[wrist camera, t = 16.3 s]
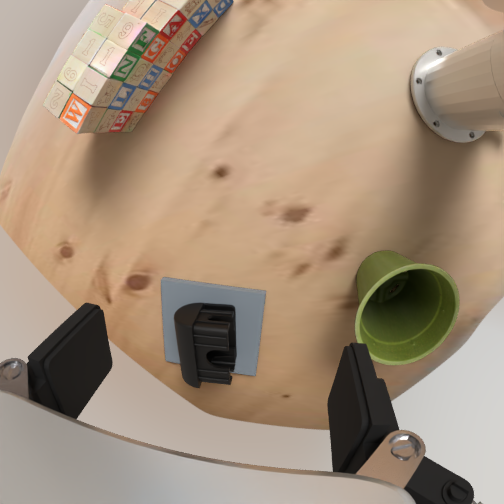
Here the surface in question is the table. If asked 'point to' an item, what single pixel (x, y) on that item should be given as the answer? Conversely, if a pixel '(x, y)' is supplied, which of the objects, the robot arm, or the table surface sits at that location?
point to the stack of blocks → (127, 61)
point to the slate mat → (242, 299)
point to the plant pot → (403, 308)
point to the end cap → (206, 342)
